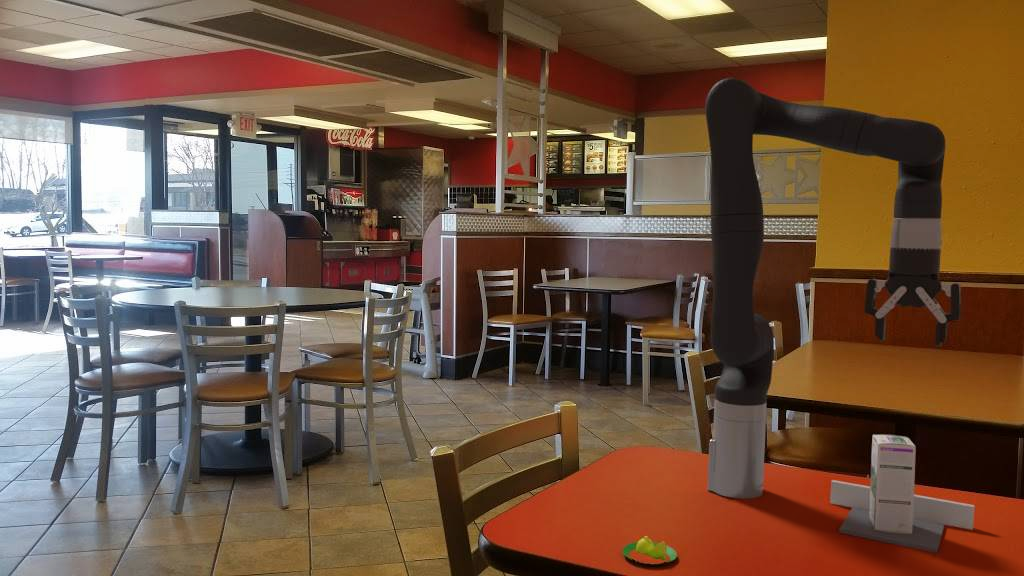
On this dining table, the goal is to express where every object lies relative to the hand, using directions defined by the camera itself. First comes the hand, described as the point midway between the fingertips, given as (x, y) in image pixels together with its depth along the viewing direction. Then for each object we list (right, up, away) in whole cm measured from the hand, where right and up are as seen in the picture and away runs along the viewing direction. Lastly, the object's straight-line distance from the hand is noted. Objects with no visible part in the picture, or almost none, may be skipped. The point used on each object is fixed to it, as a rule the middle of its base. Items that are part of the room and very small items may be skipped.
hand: (909, 342), depth 133 cm
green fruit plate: (-46, -31, -15) cm, 58 cm away
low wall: (0, -30, +3) cm, 30 cm away
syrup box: (-5, -30, -4) cm, 31 cm away
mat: (-5, -30, -4) cm, 31 cm away
